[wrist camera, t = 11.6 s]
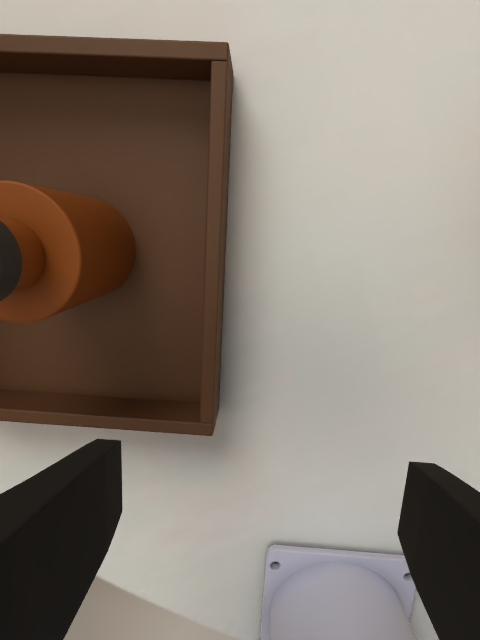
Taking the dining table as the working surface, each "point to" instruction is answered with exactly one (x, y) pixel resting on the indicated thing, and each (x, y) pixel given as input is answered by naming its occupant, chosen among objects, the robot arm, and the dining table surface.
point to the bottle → (58, 251)
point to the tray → (142, 217)
